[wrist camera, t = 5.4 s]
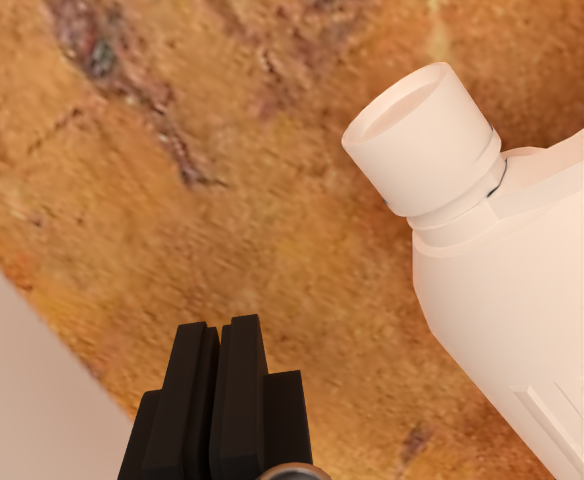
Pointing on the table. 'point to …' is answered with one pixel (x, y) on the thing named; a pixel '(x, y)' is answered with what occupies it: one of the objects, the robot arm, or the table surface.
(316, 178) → the table surface
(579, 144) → the binoculars
